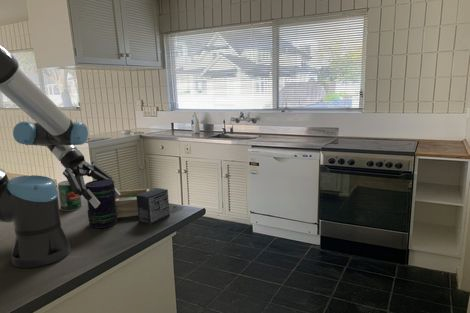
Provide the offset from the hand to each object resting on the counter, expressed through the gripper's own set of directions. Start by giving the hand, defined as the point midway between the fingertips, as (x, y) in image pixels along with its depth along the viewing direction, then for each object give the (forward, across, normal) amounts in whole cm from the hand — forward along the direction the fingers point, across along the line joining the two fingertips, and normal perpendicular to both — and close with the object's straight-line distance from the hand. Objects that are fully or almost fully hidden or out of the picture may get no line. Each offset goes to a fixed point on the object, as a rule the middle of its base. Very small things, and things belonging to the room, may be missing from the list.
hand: (108, 201), depth 123 cm
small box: (+15, -10, +2) cm, 18 cm away
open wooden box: (+5, -15, -7) cm, 17 cm away
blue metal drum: (+4, 0, -8) cm, 9 cm away
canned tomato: (-14, -10, -26) cm, 31 cm away
